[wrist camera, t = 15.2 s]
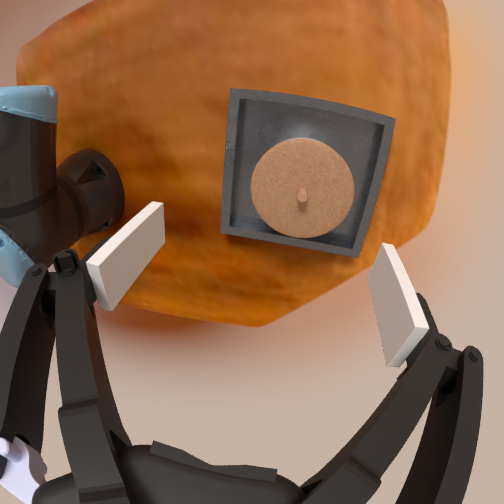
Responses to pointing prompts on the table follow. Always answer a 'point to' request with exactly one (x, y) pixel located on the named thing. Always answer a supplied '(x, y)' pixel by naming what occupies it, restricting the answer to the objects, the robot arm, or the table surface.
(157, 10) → the table surface
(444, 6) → the table surface
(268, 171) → the lidded jar
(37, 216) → the robot arm
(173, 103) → the table surface
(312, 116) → the tray
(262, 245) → the table surface
